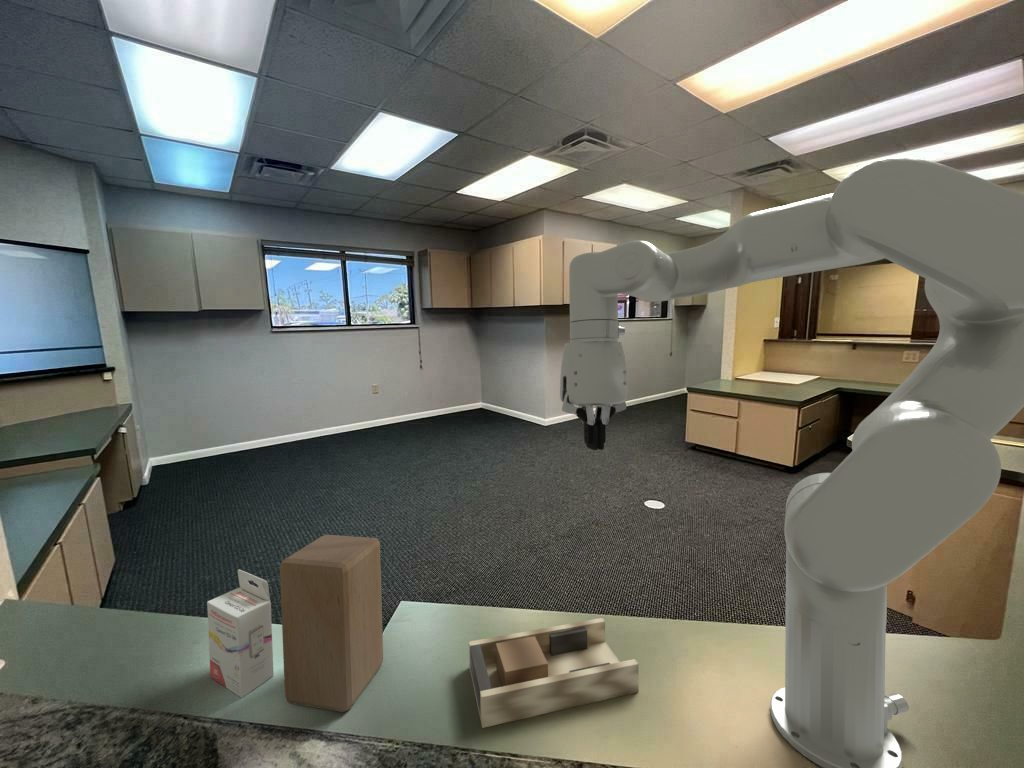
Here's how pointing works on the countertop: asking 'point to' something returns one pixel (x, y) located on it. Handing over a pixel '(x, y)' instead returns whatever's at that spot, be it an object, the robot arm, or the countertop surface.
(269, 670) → the ink cartridge box
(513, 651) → the block
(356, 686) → the block
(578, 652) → the chute
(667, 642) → the countertop surface
